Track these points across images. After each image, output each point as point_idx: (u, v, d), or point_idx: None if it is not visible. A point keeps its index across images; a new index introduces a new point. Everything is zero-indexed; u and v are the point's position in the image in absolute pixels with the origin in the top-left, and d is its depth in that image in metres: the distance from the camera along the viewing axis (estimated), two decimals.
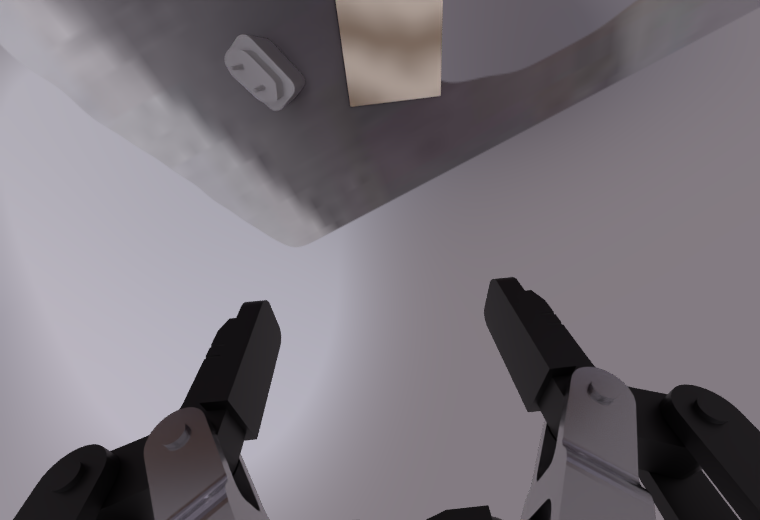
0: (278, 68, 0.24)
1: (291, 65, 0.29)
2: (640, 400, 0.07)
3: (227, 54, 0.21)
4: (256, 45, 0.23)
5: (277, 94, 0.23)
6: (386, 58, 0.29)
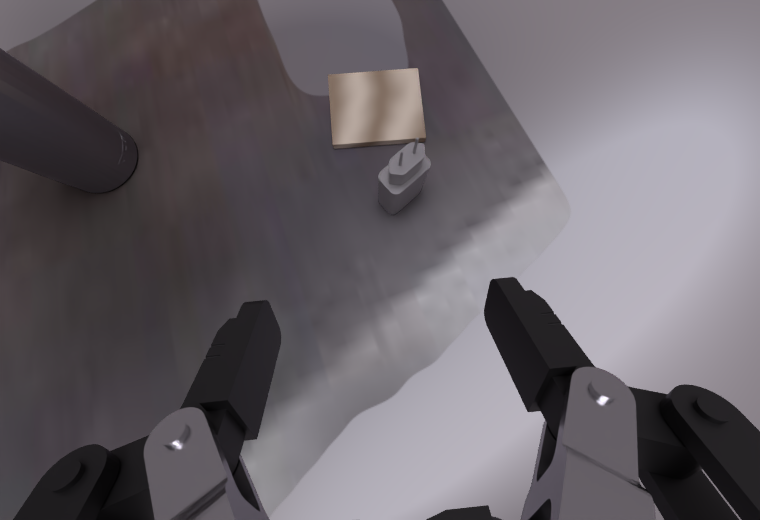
0: None
1: None
2: (640, 400, 0.07)
3: (391, 172, 0.27)
4: (385, 168, 0.30)
5: None
6: (392, 109, 0.38)
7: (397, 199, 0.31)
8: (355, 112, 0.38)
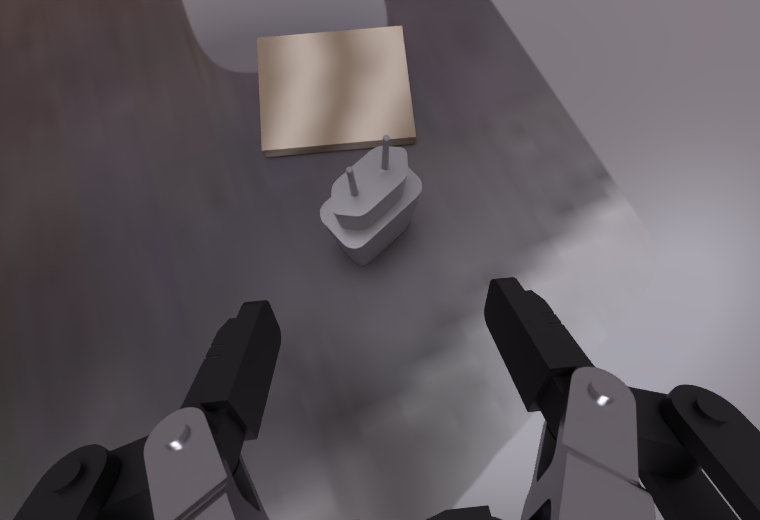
0: None
1: None
2: (640, 400, 0.07)
3: (337, 211, 0.13)
4: None
5: None
6: (360, 91, 0.23)
7: (361, 253, 0.17)
8: (300, 97, 0.23)
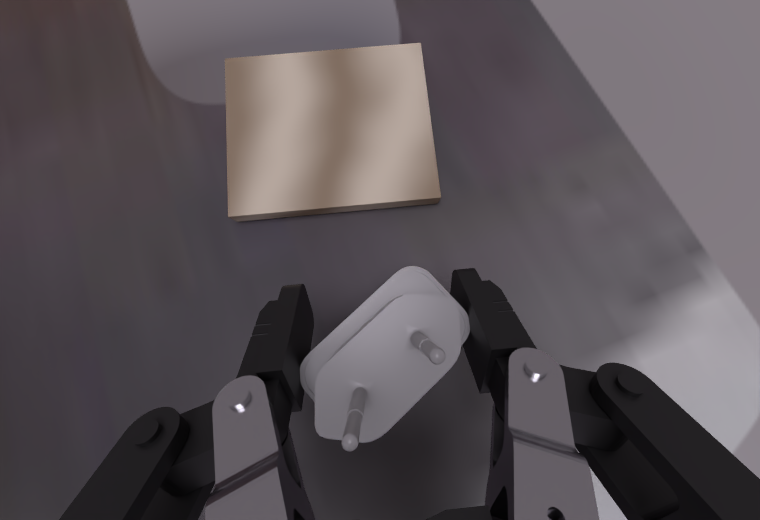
0: (371, 299, 0.09)
1: None
2: (573, 378, 0.07)
3: (325, 432, 0.07)
4: (322, 344, 0.09)
5: None
6: (364, 133, 0.17)
7: None
8: (282, 141, 0.17)
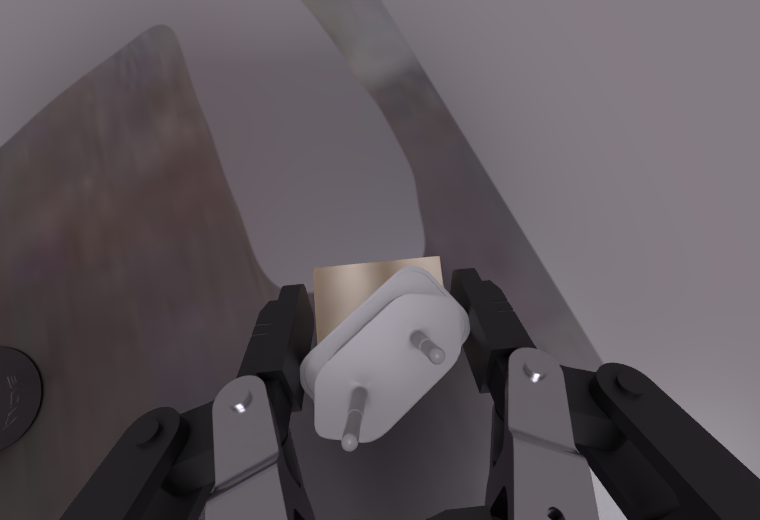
0: (371, 299, 0.09)
1: None
2: (573, 378, 0.07)
3: (324, 432, 0.07)
4: (322, 343, 0.09)
5: None
6: None
7: None
8: None
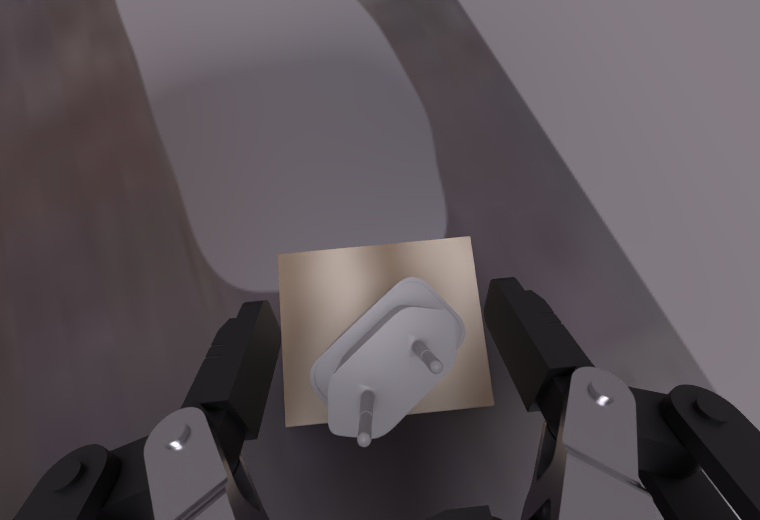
0: (374, 307, 0.10)
1: (374, 302, 0.16)
2: (640, 400, 0.07)
3: (337, 430, 0.07)
4: (330, 349, 0.10)
5: (434, 309, 0.08)
6: None
7: None
8: None
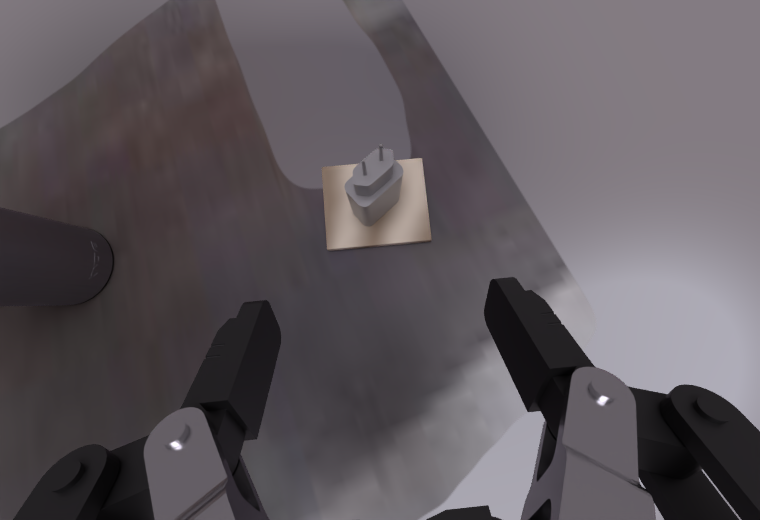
0: None
1: None
2: (640, 400, 0.07)
3: (355, 183, 0.24)
4: (352, 177, 0.27)
5: None
6: (393, 206, 0.34)
7: (368, 212, 0.28)
8: (352, 211, 0.34)
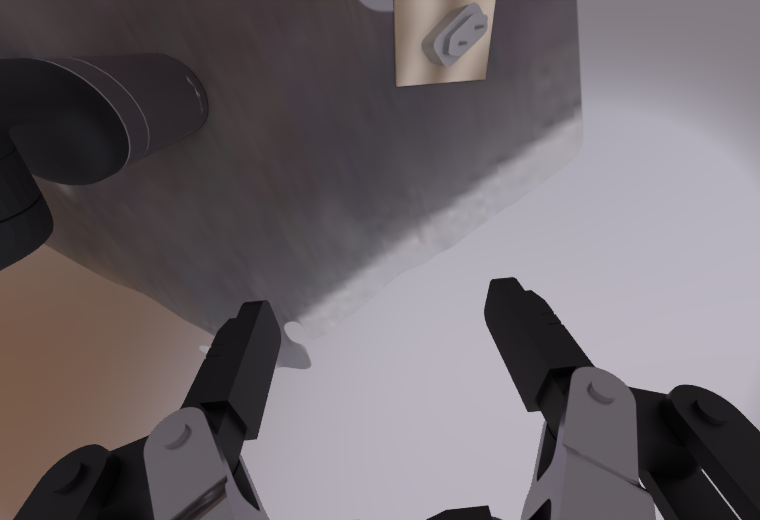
0: (458, 16, 0.29)
1: (444, 19, 0.34)
2: (640, 400, 0.07)
3: (450, 53, 0.29)
4: (441, 33, 0.30)
5: None
6: None
7: None
8: None
